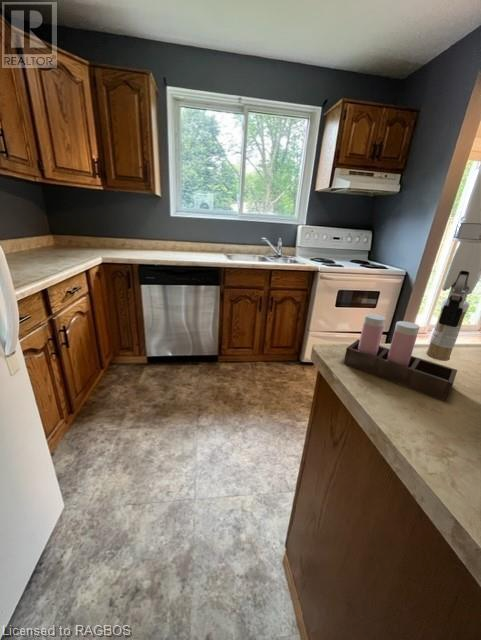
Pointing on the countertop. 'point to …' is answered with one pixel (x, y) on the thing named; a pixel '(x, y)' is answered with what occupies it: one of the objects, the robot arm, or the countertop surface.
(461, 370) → the countertop surface
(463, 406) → the countertop surface
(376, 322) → the pink bottle
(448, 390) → the spice rack
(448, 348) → the sprinkles bottle
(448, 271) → the robot arm
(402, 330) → the pink bottle
